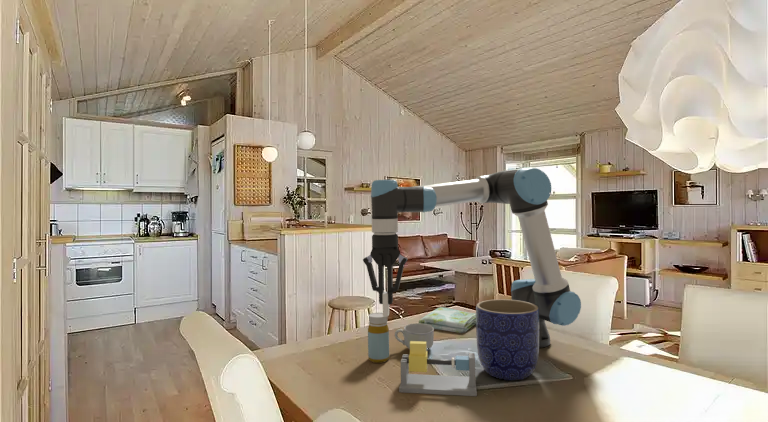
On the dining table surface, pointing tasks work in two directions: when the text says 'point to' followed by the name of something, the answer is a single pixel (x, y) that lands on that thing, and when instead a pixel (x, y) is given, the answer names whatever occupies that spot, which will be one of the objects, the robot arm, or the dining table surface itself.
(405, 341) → the teacup
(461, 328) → the towel
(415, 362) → the sleeve
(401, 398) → the dining table surface
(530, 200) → the robot arm
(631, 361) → the dining table surface
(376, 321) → the bottle
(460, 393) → the grey u-shaped stand
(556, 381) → the dining table surface
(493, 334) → the planter
